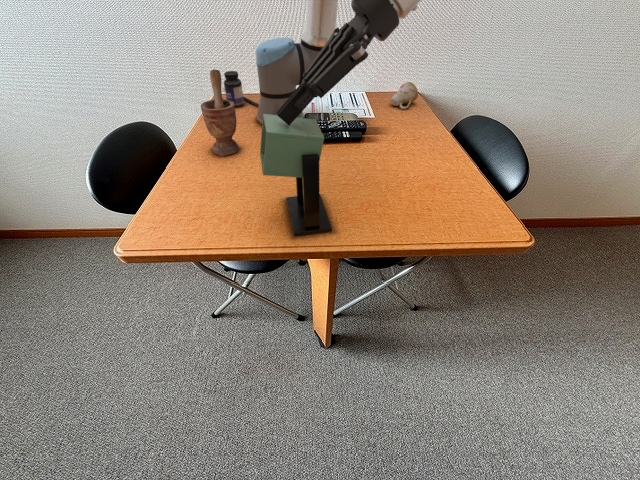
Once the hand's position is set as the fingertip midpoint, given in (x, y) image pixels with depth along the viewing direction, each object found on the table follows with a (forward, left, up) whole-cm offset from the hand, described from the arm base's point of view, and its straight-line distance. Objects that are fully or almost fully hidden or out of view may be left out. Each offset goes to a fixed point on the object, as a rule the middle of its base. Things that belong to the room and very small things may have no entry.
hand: (282, 118), depth 60 cm
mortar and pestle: (-39, +8, -22) cm, 46 cm away
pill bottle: (-66, +30, -22) cm, 76 cm away
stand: (+2, +3, -22) cm, 22 cm away
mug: (-23, +74, -22) cm, 81 cm away
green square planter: (+3, +5, -6) cm, 9 cm away
